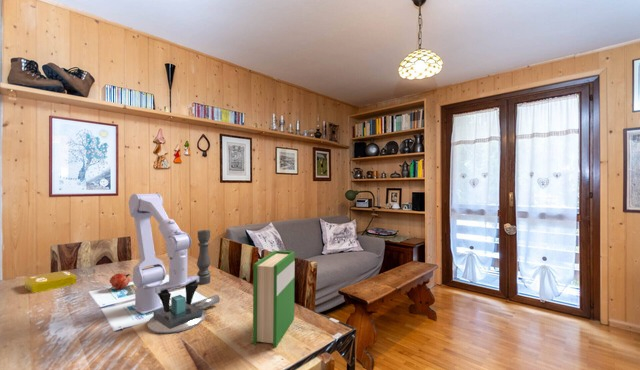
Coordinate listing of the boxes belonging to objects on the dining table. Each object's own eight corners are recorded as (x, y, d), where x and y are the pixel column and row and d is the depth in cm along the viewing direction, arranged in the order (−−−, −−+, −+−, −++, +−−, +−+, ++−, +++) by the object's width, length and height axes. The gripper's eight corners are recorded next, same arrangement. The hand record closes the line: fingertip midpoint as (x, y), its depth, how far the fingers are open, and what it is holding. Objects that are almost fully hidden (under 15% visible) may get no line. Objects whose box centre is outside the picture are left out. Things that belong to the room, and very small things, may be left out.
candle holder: (199, 280, 138) (199, 230, 138) (211, 280, 138) (212, 230, 138) (194, 284, 131) (195, 232, 132) (208, 284, 132) (208, 232, 132)
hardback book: (276, 347, 81) (276, 265, 81) (252, 344, 83) (253, 264, 83) (294, 319, 99) (294, 251, 99) (274, 317, 100) (275, 250, 100)
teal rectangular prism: (171, 317, 97) (171, 297, 97) (179, 314, 99) (179, 294, 99) (176, 320, 95) (176, 300, 95) (185, 317, 97) (185, 297, 97)
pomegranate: (108, 298, 121) (129, 283, 123) (98, 284, 121) (119, 269, 123) (118, 293, 128) (138, 279, 130) (109, 280, 129) (128, 266, 130)
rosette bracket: (138, 322, 95) (138, 310, 95) (204, 299, 115) (205, 289, 115) (162, 340, 85) (162, 327, 85) (231, 311, 104) (231, 300, 104)
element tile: (77, 284, 132) (77, 274, 132) (33, 294, 120) (33, 283, 120) (66, 278, 140) (66, 269, 140) (23, 287, 127) (23, 277, 127)
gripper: (161, 276, 89) (161, 318, 89) (203, 266, 101) (203, 303, 101) (152, 272, 93) (151, 312, 93) (193, 262, 105) (193, 298, 105)
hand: (177, 307), depth 97 cm, fingers open, 7 cm apart
